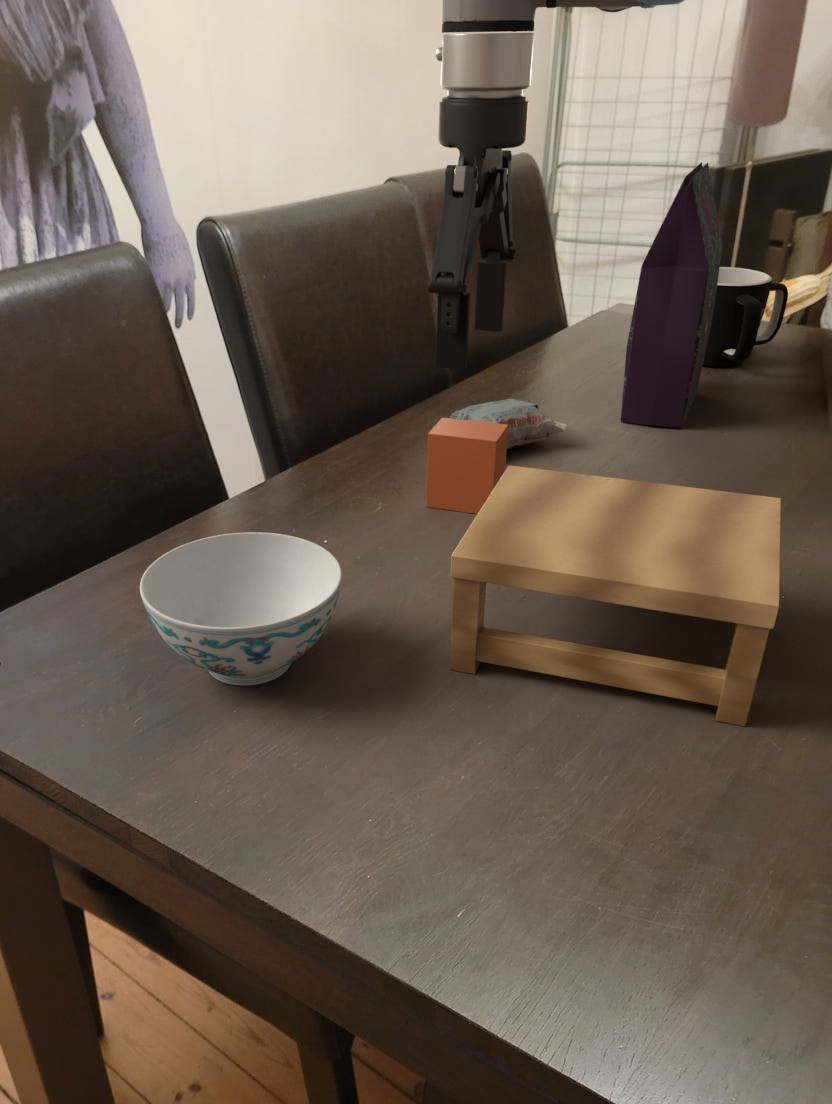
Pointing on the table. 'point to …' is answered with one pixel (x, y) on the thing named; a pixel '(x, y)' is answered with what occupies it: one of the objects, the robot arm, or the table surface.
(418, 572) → the table surface
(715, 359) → the mug
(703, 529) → the wooden footstool
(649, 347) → the purple coffee bag
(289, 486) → the table surface
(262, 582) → the chinaware
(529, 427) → the packaged food
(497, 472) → the small box
